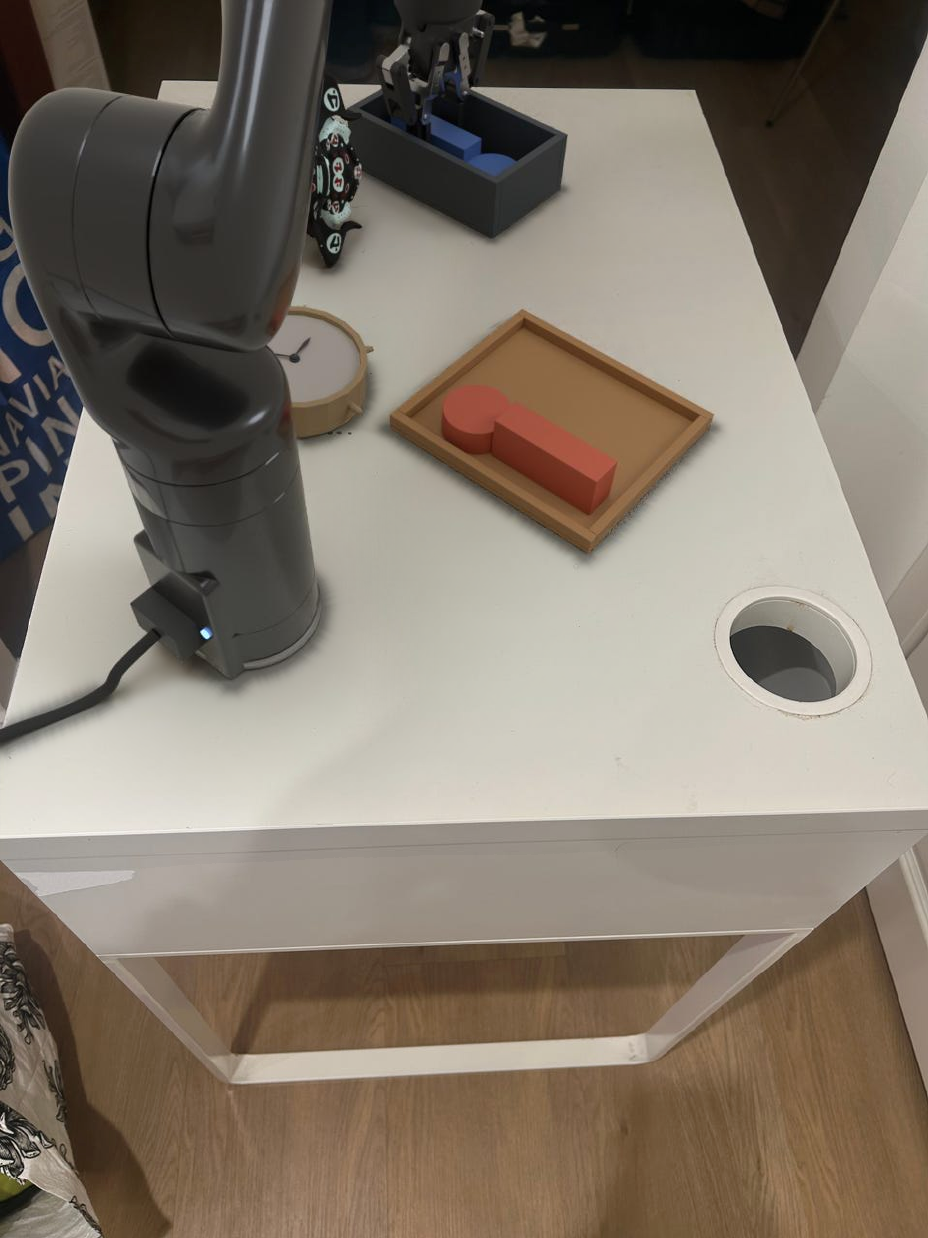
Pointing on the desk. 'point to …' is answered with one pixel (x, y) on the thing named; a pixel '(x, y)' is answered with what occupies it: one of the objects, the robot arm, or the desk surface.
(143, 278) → the robot arm
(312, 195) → the figurine
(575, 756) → the desk surface
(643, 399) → the tray
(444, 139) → the blue spoon
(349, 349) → the alarm clock
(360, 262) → the desk surface
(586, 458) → the red spoon
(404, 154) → the bin
